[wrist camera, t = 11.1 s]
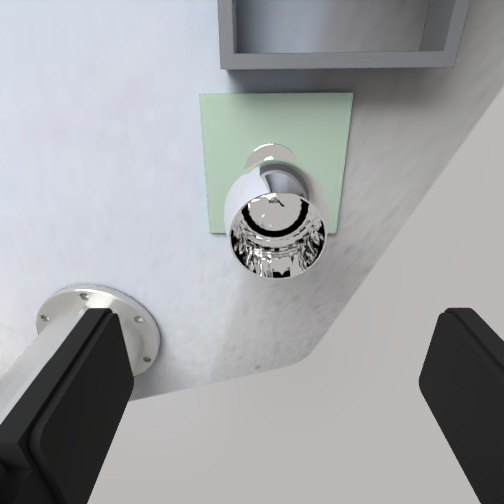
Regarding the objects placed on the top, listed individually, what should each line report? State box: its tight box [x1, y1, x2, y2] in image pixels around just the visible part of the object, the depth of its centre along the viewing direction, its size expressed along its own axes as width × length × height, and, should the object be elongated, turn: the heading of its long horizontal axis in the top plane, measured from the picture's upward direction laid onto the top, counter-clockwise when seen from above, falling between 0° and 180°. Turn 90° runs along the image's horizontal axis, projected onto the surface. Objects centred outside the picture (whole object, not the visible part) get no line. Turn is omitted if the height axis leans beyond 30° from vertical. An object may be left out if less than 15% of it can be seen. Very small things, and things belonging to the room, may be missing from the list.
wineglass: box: [224, 143, 329, 280], centre depth 21 cm, size 6×6×12 cm
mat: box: [199, 92, 353, 233], centre depth 26 cm, size 11×11×1 cm
